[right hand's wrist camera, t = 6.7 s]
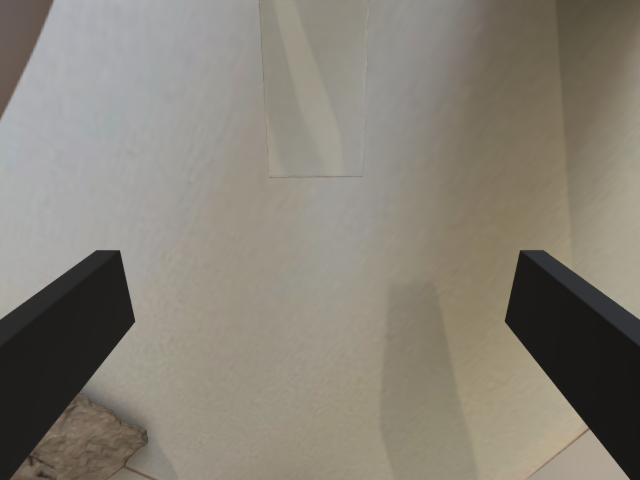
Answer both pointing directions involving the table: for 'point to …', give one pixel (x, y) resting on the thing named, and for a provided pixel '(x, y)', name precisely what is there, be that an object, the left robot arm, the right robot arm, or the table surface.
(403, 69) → the table surface
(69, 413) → the stone
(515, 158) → the table surface
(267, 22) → the bar
